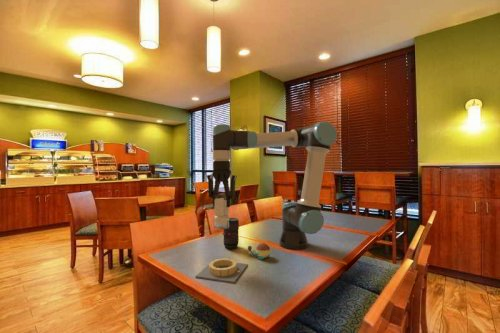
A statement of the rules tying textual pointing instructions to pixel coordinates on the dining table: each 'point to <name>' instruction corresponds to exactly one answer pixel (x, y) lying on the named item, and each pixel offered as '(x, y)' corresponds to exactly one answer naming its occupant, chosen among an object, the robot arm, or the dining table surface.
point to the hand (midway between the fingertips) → (221, 214)
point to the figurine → (260, 251)
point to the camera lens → (231, 234)
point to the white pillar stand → (220, 213)
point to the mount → (222, 270)
